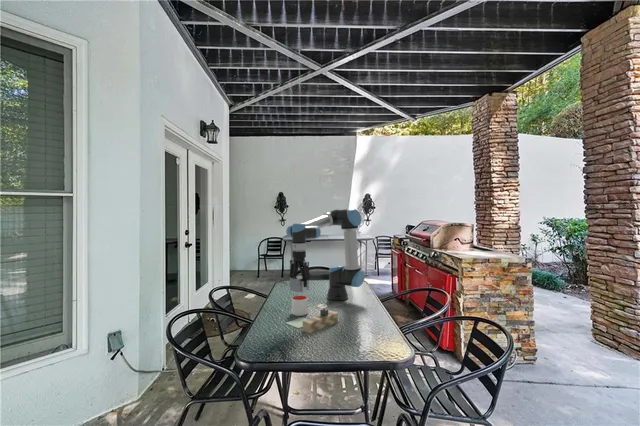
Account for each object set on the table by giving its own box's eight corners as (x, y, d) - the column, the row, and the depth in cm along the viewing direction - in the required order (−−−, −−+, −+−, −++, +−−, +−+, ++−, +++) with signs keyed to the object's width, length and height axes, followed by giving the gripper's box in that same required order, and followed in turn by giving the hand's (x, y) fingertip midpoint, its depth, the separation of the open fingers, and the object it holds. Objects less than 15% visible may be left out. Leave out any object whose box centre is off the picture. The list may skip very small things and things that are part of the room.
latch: (324, 313, 164) (323, 306, 164) (328, 315, 162) (328, 308, 162) (320, 315, 162) (320, 308, 162) (324, 316, 160) (324, 309, 160)
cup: (305, 317, 174) (305, 300, 174) (289, 316, 176) (289, 299, 176) (309, 311, 184) (309, 295, 184) (294, 310, 186) (294, 295, 186)
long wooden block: (330, 319, 170) (330, 310, 170) (337, 321, 166) (337, 312, 166) (302, 330, 154) (302, 321, 154) (309, 333, 150) (309, 323, 151)
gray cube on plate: (300, 287, 170) (300, 275, 170) (308, 289, 165) (308, 277, 165) (290, 290, 164) (289, 277, 164) (298, 292, 159) (298, 279, 159)
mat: (301, 317, 173) (301, 317, 173) (314, 322, 165) (314, 321, 165) (285, 323, 164) (285, 322, 164) (298, 328, 157) (298, 328, 157)
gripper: (282, 249, 169) (283, 289, 169) (306, 252, 155) (306, 296, 155) (292, 248, 174) (293, 287, 174) (316, 251, 160) (316, 293, 160)
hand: (299, 291), depth 165 cm, fingers closed on gray cube on plate, 7 cm apart
